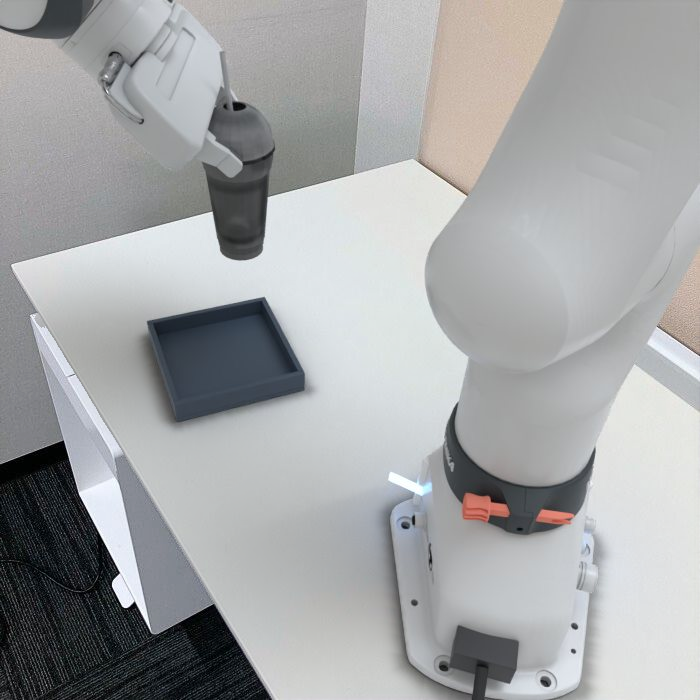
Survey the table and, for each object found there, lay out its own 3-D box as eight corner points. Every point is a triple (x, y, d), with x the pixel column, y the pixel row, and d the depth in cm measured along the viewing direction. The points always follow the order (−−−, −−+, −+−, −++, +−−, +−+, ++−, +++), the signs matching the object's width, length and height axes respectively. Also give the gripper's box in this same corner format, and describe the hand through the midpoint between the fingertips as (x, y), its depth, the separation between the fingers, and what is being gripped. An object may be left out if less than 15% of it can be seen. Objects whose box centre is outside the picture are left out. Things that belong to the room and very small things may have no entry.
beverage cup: (242, 277, 73) (233, 79, 60) (191, 249, 76) (171, 54, 63) (290, 246, 78) (291, 55, 64) (240, 221, 81) (231, 33, 67)
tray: (304, 390, 82) (305, 373, 80) (176, 422, 77) (174, 405, 75) (265, 313, 91) (264, 296, 89) (149, 337, 87) (146, 320, 85)
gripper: (117, 55, 53) (257, 182, 60) (167, -27, 69) (273, 82, 76) (67, 111, 56) (206, 226, 63) (125, 20, 71) (232, 121, 78)
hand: (243, 147), depth 70 cm, fingers closed on beverage cup, 7 cm apart
